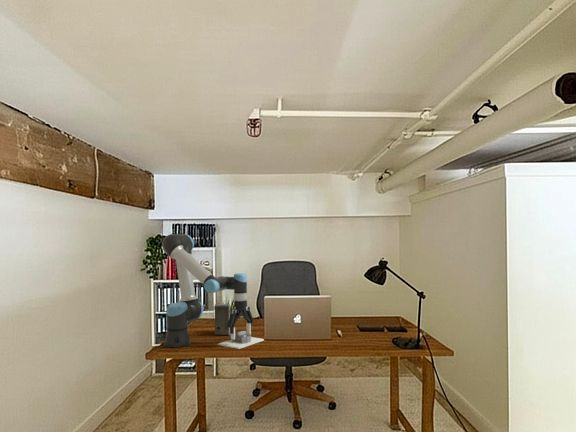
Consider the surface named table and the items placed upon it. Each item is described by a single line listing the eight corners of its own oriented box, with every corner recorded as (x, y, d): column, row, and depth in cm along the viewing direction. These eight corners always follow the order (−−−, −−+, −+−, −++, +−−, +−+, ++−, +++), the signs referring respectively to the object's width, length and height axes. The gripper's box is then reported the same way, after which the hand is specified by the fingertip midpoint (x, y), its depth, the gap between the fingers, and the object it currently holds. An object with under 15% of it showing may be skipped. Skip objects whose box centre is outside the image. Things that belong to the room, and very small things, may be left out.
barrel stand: (239, 348, 239) (238, 342, 239) (218, 345, 248) (218, 338, 248) (263, 340, 257) (263, 333, 257) (243, 337, 266) (243, 330, 266)
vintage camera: (235, 331, 285) (234, 300, 287) (229, 335, 270) (228, 303, 271) (220, 331, 286) (219, 301, 288) (214, 336, 271) (213, 304, 272)
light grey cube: (242, 343, 248) (241, 333, 248) (233, 341, 252) (233, 332, 252) (249, 340, 253) (249, 331, 253) (241, 339, 257) (241, 330, 257)
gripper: (230, 303, 241) (230, 342, 240) (259, 297, 261) (259, 333, 261) (220, 302, 245) (221, 340, 245) (249, 296, 266) (249, 331, 265)
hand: (240, 336), depth 253 cm, fingers open, 13 cm apart
